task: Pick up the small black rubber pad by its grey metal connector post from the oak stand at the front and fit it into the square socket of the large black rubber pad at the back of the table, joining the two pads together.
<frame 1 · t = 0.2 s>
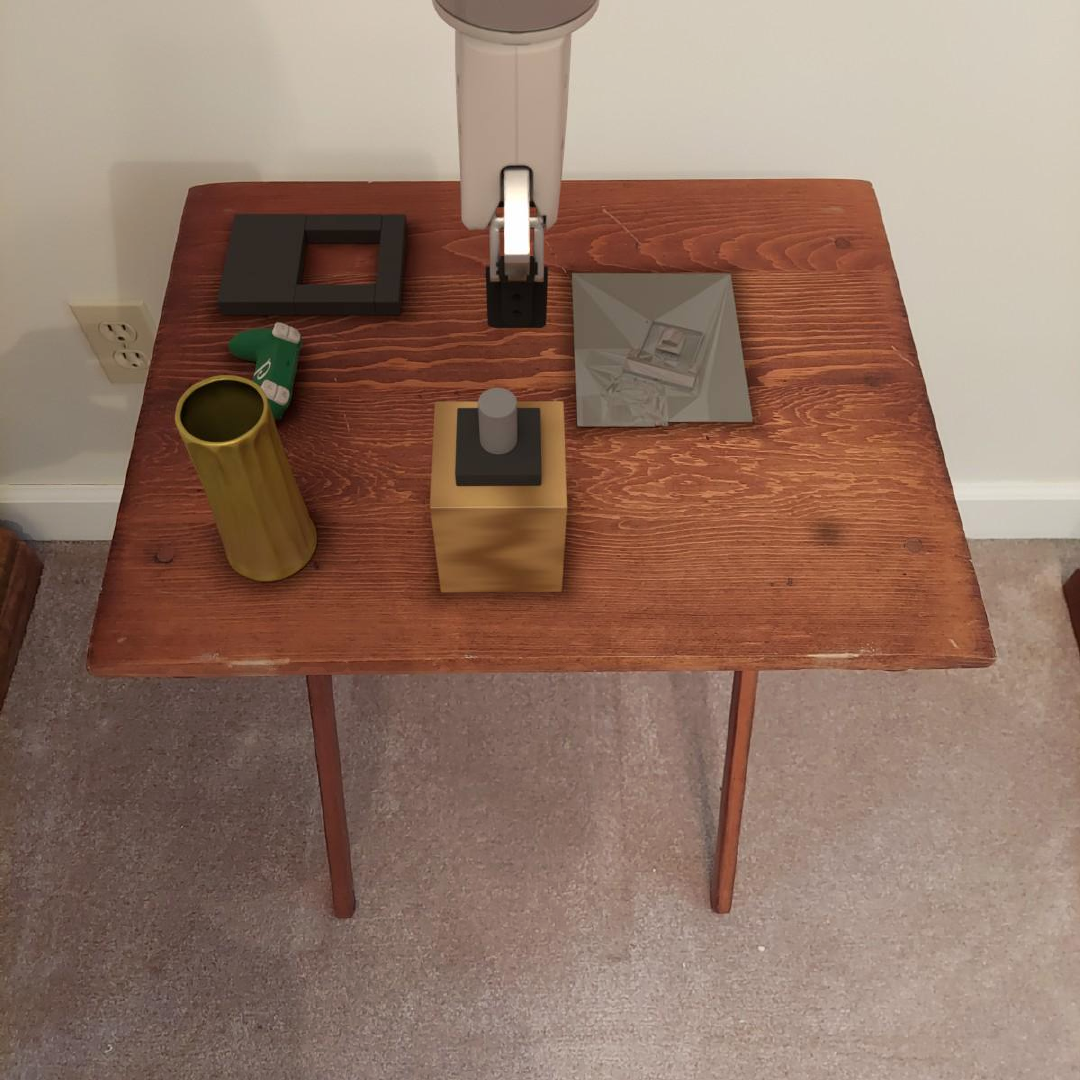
hand: (516, 261, 60), 18 cm above the table, tool pointing down, fingers open, 9 cm apart
grey flat square slab: (689, 395, 79), on the table
stand: (501, 541, 72), on the table
vase: (272, 545, 72), on the table
base pad: (317, 270, 85), on the table
gaming controller: (263, 395, 79), on the table
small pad: (498, 452, 63), point 10 cm above the table, touching stand
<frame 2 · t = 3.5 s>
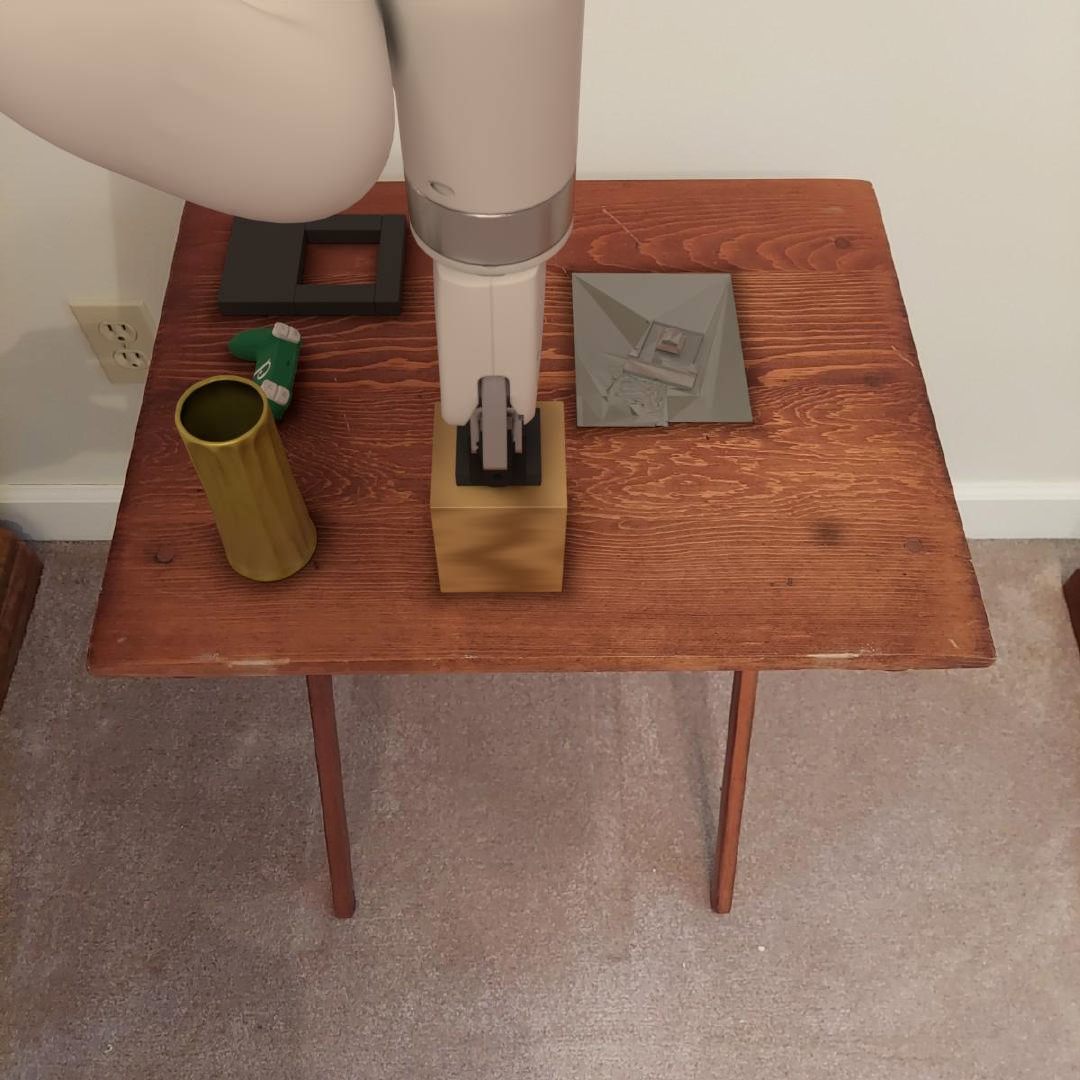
hand: (498, 439, 62), 11 cm above the table, tool pointing down, fingers closed on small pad, 5 cm apart
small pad: (498, 452, 63), point 10 cm above the table, touching gripper, stand
everything else where it was.
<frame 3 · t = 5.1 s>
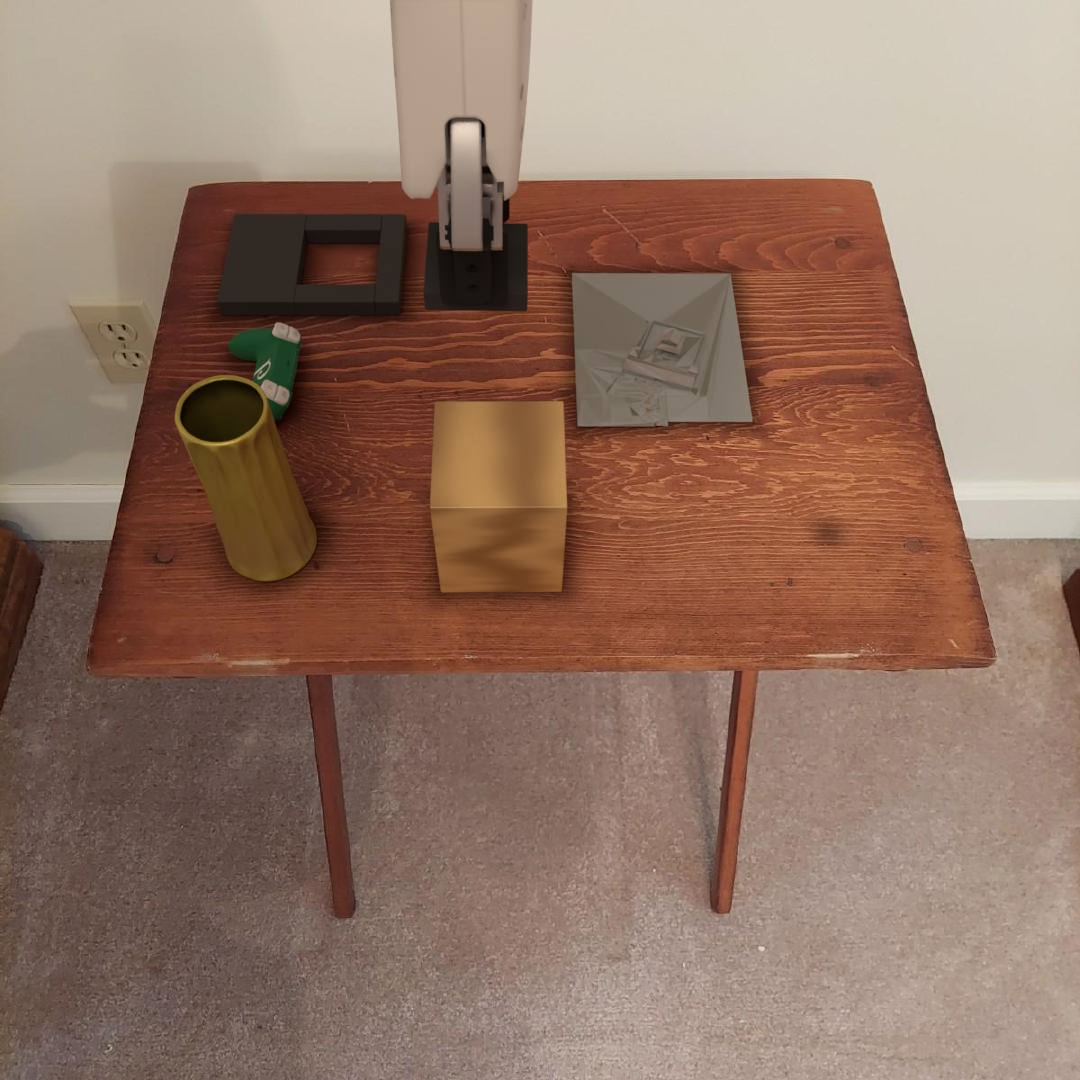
hand: (476, 256, 52), 24 cm above the table, tool pointing down, fingers closed on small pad, 5 cm apart
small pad: (477, 275, 53), point 23 cm above the table, touching gripper
everything else where it was.
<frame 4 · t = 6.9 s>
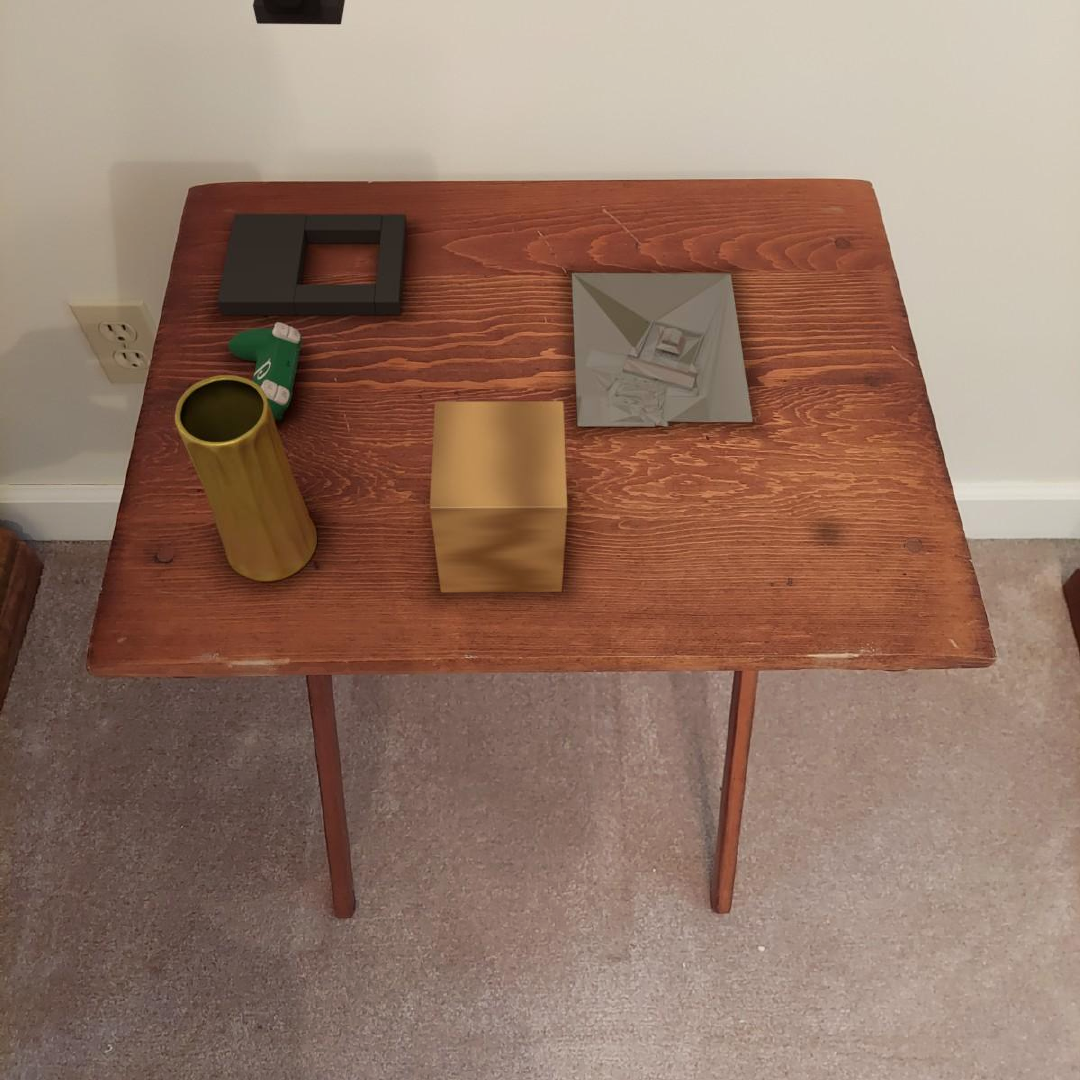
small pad: (303, 0, 64), point 24 cm above the table, touching gripper
everything else where it was.
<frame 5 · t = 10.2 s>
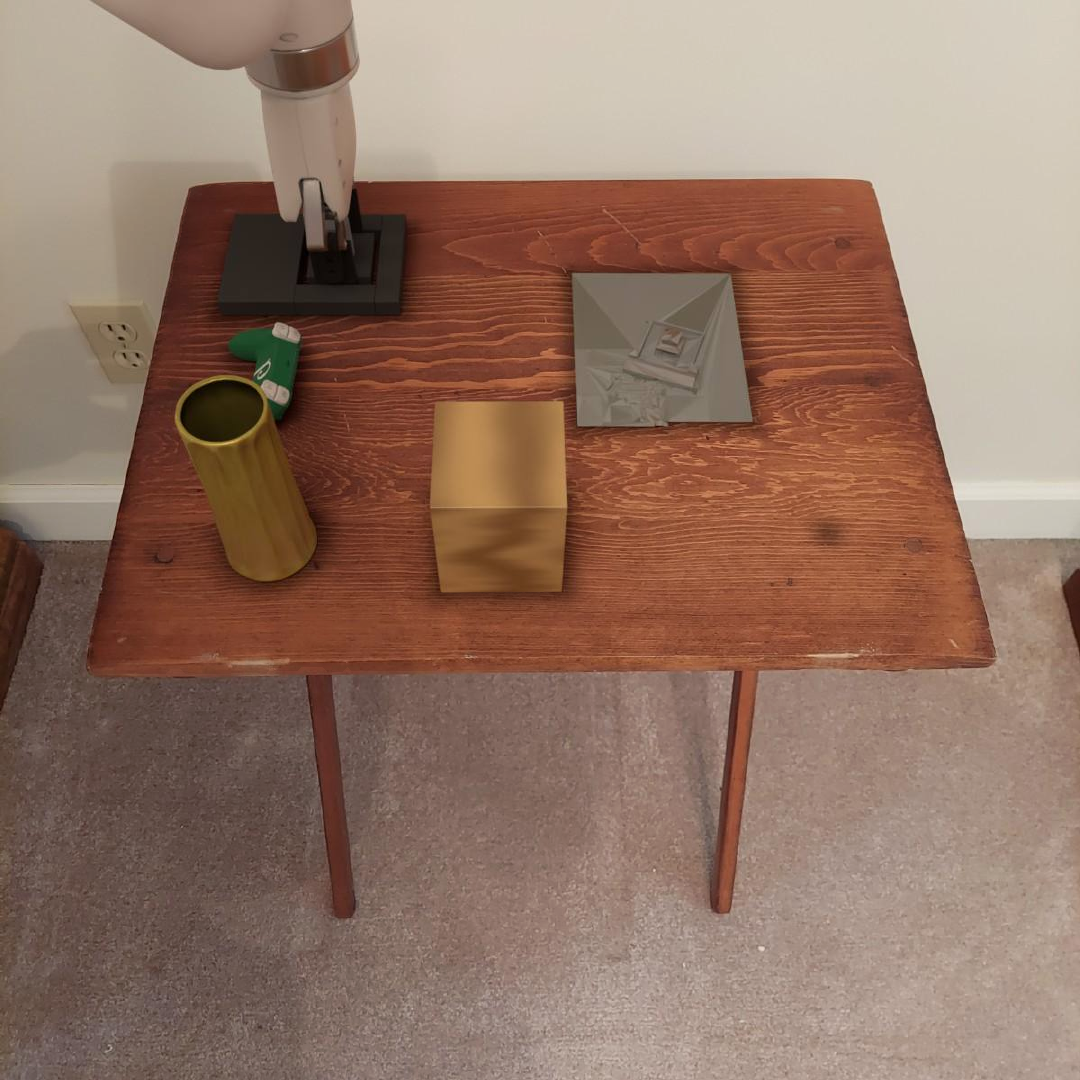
hand: (339, 254, 84), 2 cm above the table, tool pointing down, fingers closed on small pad, 5 cm apart
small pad: (343, 265, 85), resting in base pad, touching gripper
everything else where it was.
when the fingers open (2 cm above the table, at t = 10.5 s): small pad stays where it is, resting in base pad.
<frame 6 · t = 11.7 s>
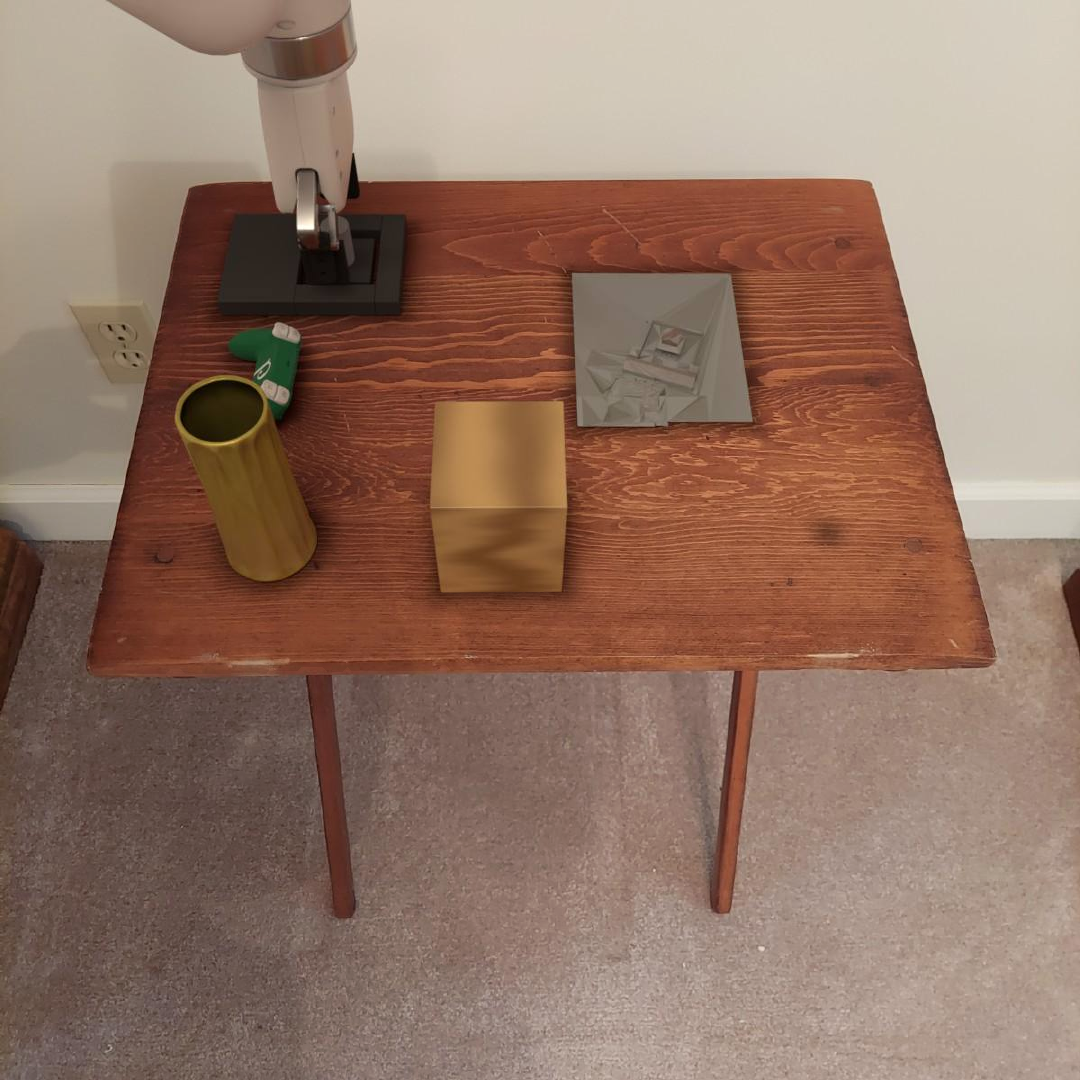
hand: (335, 238, 83), 3 cm above the table, tool pointing down, fingers open, 9 cm apart
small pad: (343, 270, 85), resting in base pad
everything else where it was.
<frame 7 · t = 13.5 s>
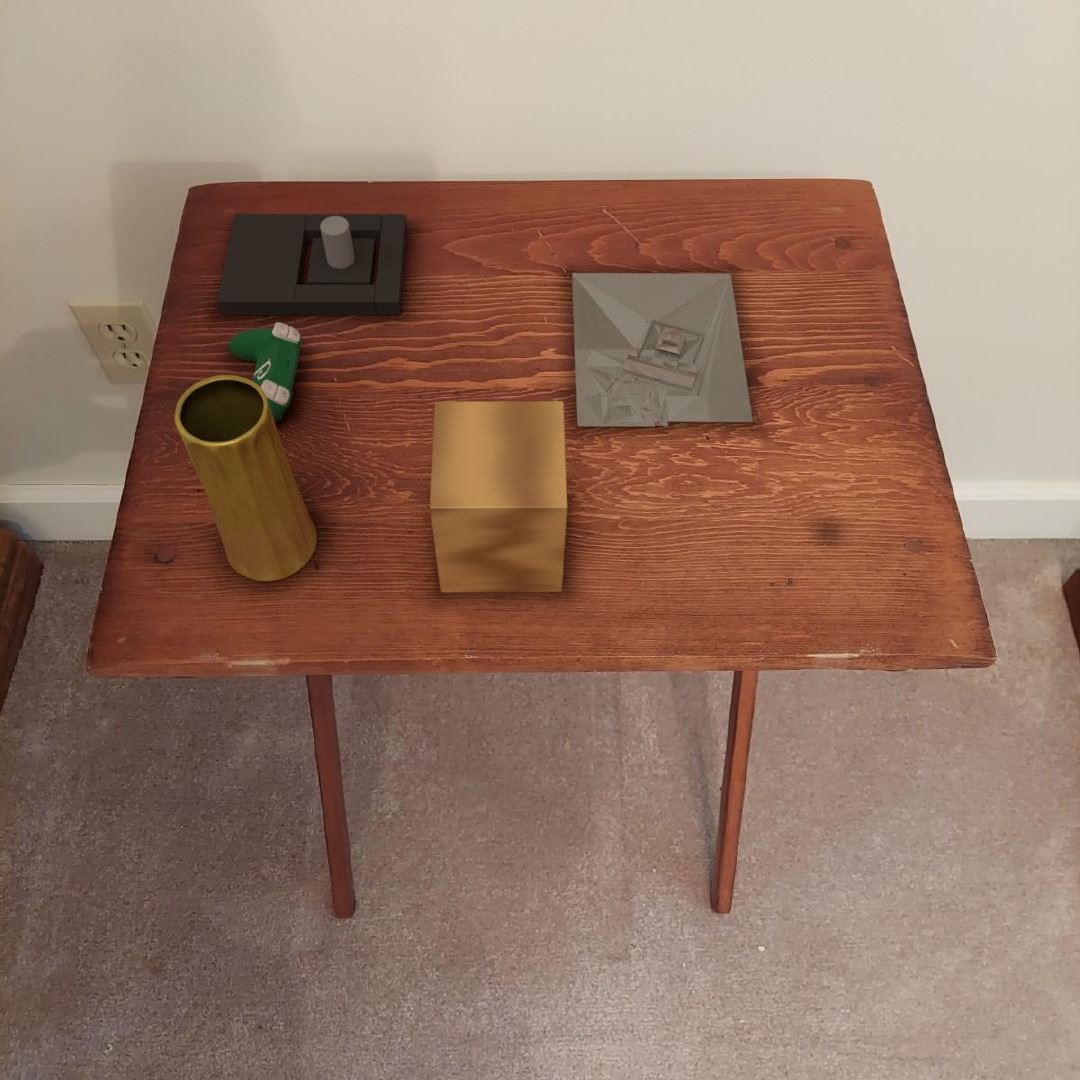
nothing on the table moved.
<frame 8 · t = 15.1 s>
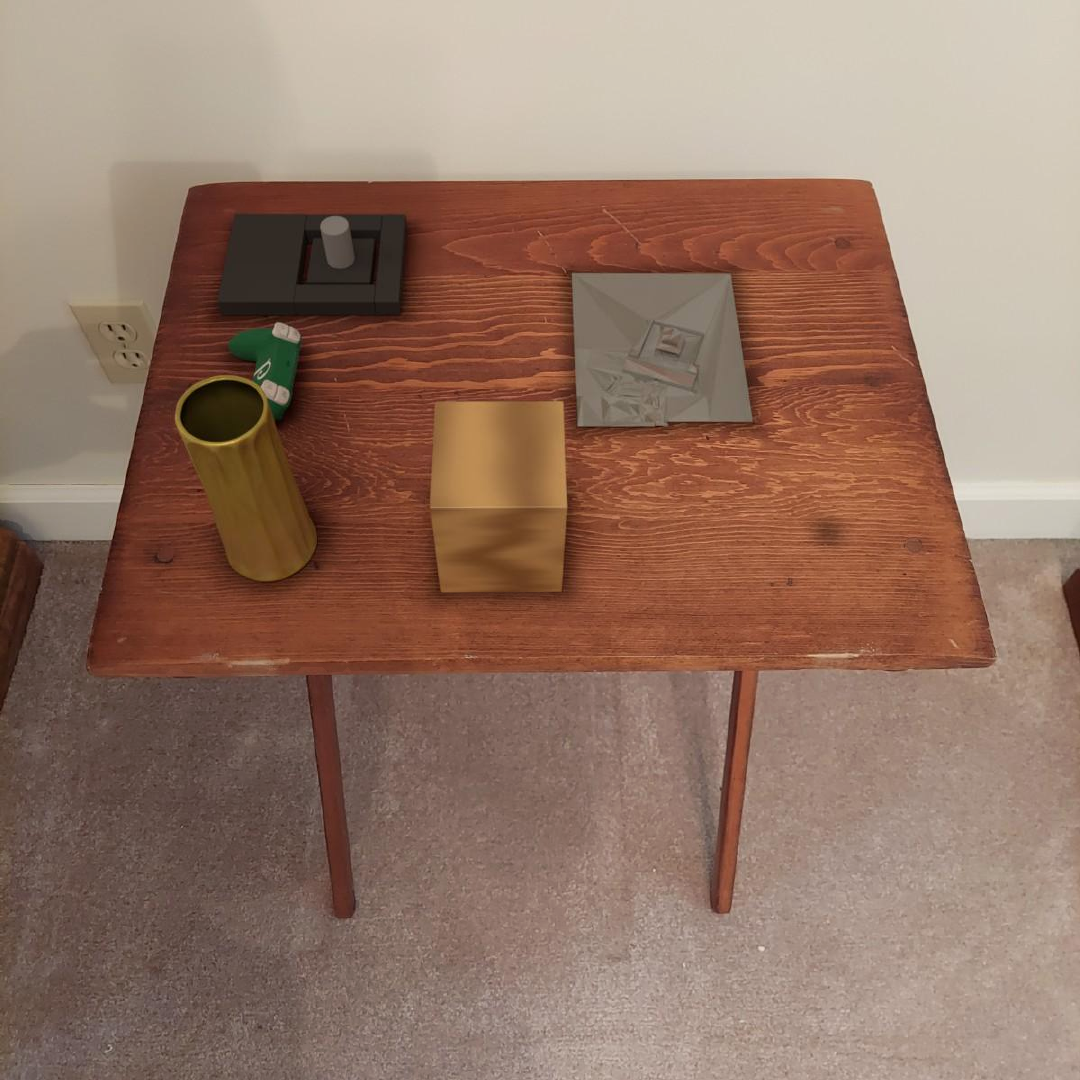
nothing on the table moved.
at the end: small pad 0.1 cm from the target spot on the base pad, point 0.0 cm above the base pad's base; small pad tilted 0°; the gripper is holding nothing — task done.
